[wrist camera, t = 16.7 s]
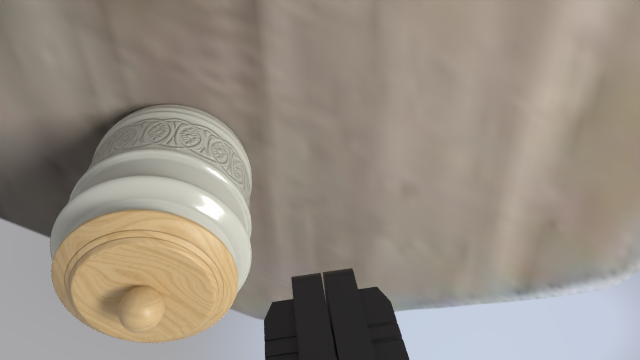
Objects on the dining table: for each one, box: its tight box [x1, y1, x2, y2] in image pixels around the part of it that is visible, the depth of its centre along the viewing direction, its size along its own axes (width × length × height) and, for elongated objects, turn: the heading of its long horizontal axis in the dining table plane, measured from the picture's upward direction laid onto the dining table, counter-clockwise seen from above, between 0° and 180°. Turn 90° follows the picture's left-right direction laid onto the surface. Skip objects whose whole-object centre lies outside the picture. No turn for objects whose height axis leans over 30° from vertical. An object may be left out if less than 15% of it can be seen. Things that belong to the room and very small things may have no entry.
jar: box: [50, 104, 252, 343], centre depth 35 cm, size 13×13×18 cm
